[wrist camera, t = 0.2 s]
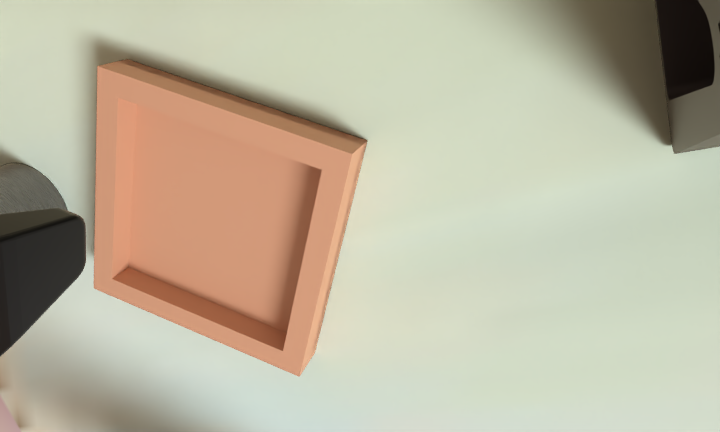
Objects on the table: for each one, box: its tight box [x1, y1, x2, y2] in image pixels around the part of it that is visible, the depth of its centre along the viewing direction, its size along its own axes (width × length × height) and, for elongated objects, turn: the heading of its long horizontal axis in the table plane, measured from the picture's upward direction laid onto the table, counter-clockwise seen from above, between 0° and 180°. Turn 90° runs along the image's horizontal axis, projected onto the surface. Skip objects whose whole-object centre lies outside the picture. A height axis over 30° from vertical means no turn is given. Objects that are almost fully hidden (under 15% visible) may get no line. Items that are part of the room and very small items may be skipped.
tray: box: [94, 59, 367, 376], centre depth 26 cm, size 11×11×2 cm
